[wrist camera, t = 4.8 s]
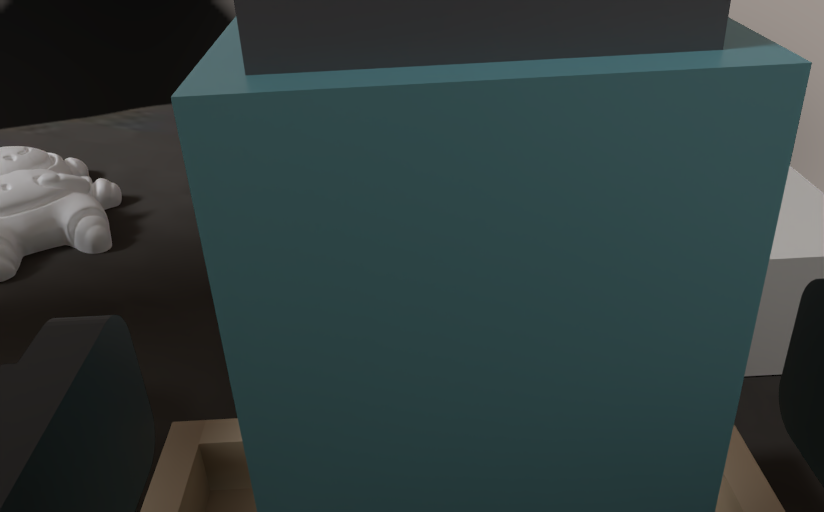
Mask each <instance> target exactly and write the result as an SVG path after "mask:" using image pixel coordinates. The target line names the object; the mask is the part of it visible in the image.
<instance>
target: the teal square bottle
mask: <svg viewBox="0 0 824 512" xmlns="http://www.w3.org/2000/svg"><path fill="white" fill-rule="evenodd" d="M730 1H731V0H234V5H235V11H236V17H235V18H234V19H233V21H232V22H231V23H230V24H229V26H228V27H227V28H226V29H225V31H224V32H223V33H222V34H221V36H220V37H219V38H218V39H217V40H216V42H215V43H214V44H213V45H212V47H211V48H210V49H209V51H208V52H207V53H206V54H205V55H204V57H203V58H202V59H201V61H200V62H199V63H198V64H197V65H196V67H195V68H194V69H193V70H192V71H191V73H190V74H189V76H187V78H186V79H185V80H184V81H183V83H182V84H181V85H180V87H179V88H178V89H177V90H176V91H175V93H174V94H173V95H172V96H171V100H172V105H173V110H174V115H175V120H176V124H177V129H178V134H179V139H180V144H181V148H182V153H183V158H184V163H185V168H186V172H187V177H188V182H189V187H190V192H191V196H192V201H193V206H194V211H195V216H196V221H197V225H198V230H199V235H200V240H201V245H202V249H203V254H204V259H205V264H206V269H207V273H208V278H209V283H210V288H211V293H212V297H213V302H214V307H215V312H216V317H217V322H218V326H219V331H220V336H221V341H222V346H223V350H224V355H225V360H226V365H227V370H228V374H229V379H230V384H231V389H232V394H233V398H234V403H235V408H236V413H237V418H238V423H239V427H240V432H241V437H242V442H243V447H244V451H245V456H246V461H247V466H248V471H249V475H250V480H251V485H252V490H253V495H254V499H255V504H256V509H257V512H715V509H716V505H717V500H718V495H719V491H720V486H721V482H722V477H723V472H724V468H725V463H726V458H727V454H728V449H729V444H730V440H731V435H732V430H733V426H734V421H735V417H736V412H737V407H738V403H739V398H740V393H741V389H742V384H743V379H744V375H745V370H746V366H747V361H748V356H749V352H750V347H751V342H752V338H753V333H754V328H755V324H756V319H757V315H758V310H759V305H760V301H761V296H762V291H763V287H764V282H765V277H766V273H767V268H768V263H769V259H770V254H771V250H772V245H773V240H774V236H775V231H776V226H777V222H778V217H779V212H780V208H781V203H782V199H783V194H784V189H785V185H786V180H787V175H788V171H789V166H790V161H791V156H792V152H793V148H794V143H795V138H796V133H797V129H798V124H799V120H800V115H801V110H802V105H803V101H804V96H805V92H806V87H807V83H808V78H809V73H810V69H811V64H812V63H811V62H809V61H808V60H806V59H804V58H802V57H800V56H799V55H797V54H795V53H793V52H791V51H789V50H788V49H786V48H784V47H782V46H780V45H778V44H776V43H775V42H773V41H771V40H769V39H767V38H765V37H764V36H762V35H760V34H758V33H756V32H754V31H753V30H751V29H749V28H747V27H745V26H743V25H742V24H740V23H738V22H736V21H734V20H732V19H730V18H729V17H728V14H729V8H730Z"/></svg>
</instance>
